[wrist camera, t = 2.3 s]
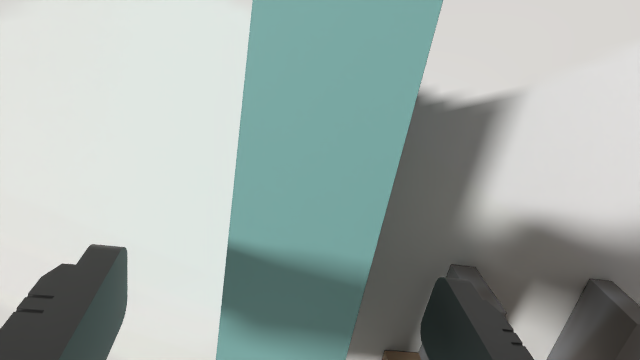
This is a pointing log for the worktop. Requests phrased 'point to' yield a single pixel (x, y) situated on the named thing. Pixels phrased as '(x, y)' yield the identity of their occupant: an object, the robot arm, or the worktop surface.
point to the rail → (316, 168)
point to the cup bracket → (573, 322)
